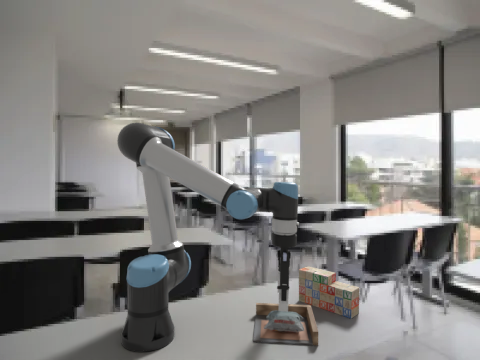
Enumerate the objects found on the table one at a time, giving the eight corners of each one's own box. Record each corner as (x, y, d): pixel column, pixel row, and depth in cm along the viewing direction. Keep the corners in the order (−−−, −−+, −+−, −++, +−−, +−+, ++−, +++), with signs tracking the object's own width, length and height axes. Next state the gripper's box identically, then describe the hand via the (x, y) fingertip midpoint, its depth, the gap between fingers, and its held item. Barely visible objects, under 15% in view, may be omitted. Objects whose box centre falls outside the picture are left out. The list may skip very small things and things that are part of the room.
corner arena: (253, 341, 94) (253, 328, 94) (256, 314, 112) (256, 302, 112) (318, 345, 92) (318, 331, 92) (310, 316, 110) (310, 305, 110)
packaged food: (303, 338, 95) (304, 321, 95) (263, 334, 97) (263, 318, 97) (303, 324, 103) (303, 309, 103) (266, 321, 105) (266, 306, 105)
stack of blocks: (359, 313, 113) (360, 278, 112) (351, 319, 108) (351, 283, 108) (307, 296, 128) (307, 265, 128) (298, 300, 124) (298, 268, 123)
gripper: (300, 242, 86) (298, 320, 87) (294, 225, 111) (292, 286, 112) (272, 241, 87) (269, 318, 88) (272, 224, 112) (270, 285, 112)
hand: (282, 301), depth 100 cm, fingers open, 13 cm apart
